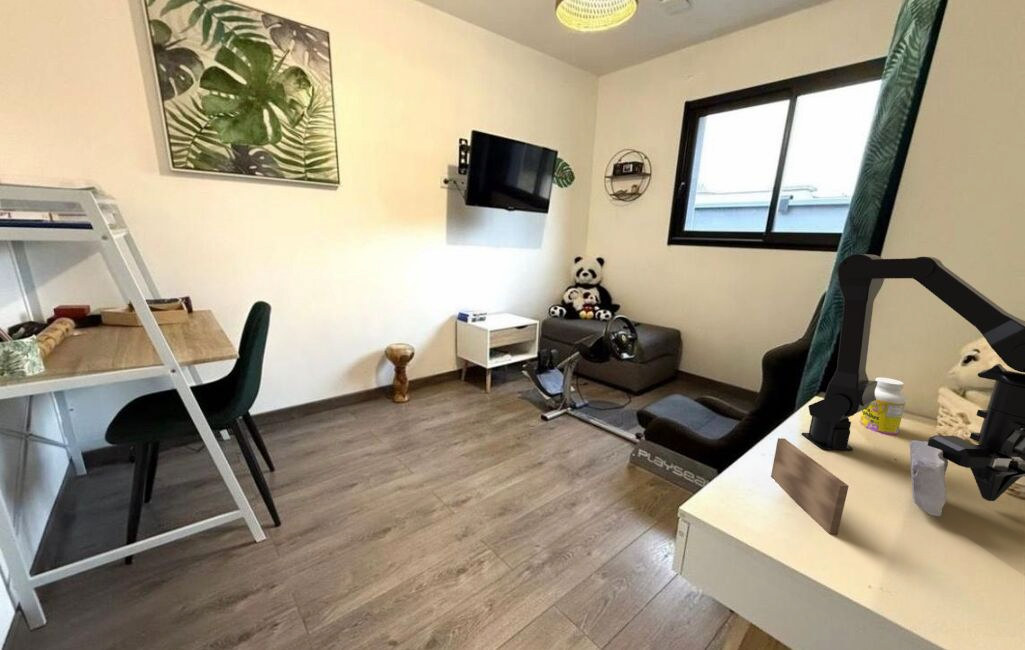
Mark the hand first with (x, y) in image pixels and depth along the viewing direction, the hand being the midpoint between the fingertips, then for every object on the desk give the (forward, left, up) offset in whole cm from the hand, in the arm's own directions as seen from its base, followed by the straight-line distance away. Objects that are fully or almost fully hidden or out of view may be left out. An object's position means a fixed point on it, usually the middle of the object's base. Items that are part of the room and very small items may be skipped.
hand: (987, 499), depth 65 cm
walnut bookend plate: (+1, -31, -2) cm, 31 cm away
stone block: (0, -11, -2) cm, 11 cm away
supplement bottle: (-27, +6, -2) cm, 28 cm away
